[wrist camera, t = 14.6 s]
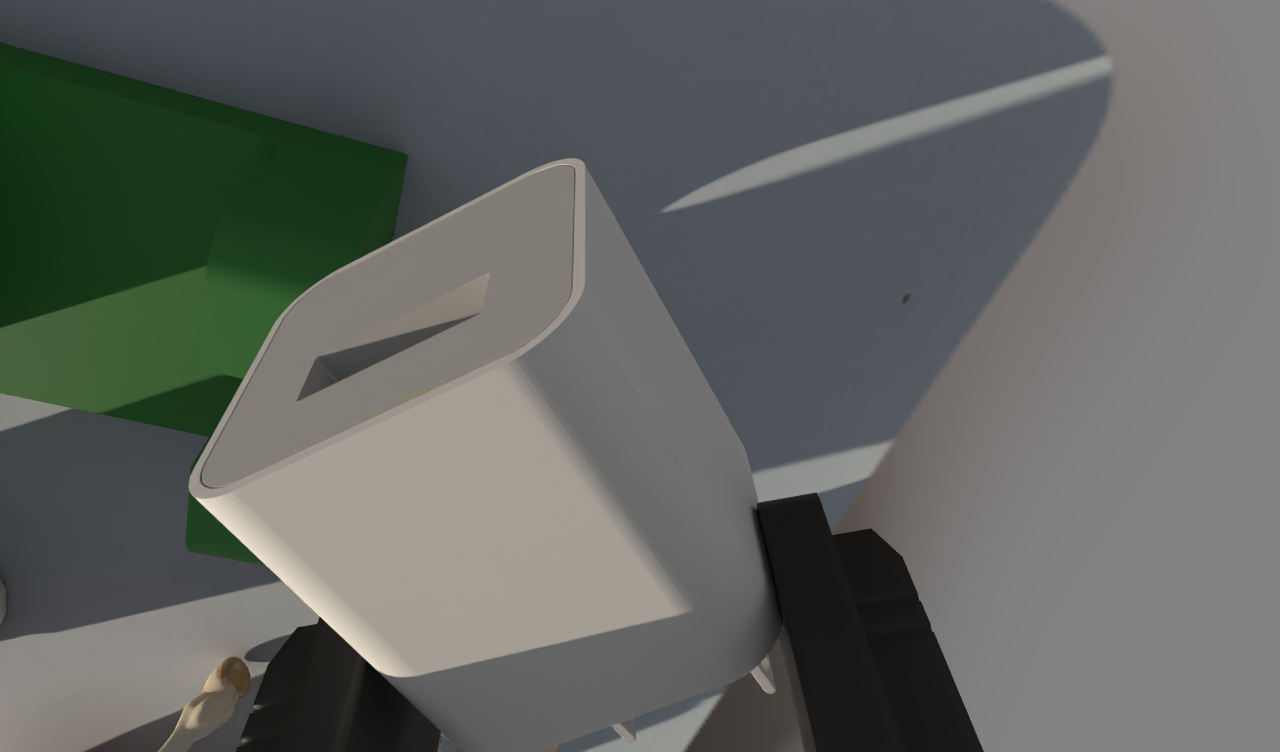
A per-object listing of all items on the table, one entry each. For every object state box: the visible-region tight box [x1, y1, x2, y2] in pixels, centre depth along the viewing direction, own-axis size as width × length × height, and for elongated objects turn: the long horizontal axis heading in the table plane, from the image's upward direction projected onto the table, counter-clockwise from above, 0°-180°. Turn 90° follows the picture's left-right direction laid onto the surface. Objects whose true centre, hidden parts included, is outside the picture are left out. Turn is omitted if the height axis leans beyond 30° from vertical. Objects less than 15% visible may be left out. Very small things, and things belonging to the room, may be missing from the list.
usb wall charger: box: [189, 158, 782, 752], centre depth 11 cm, size 4×7×4 cm, turn 27°
